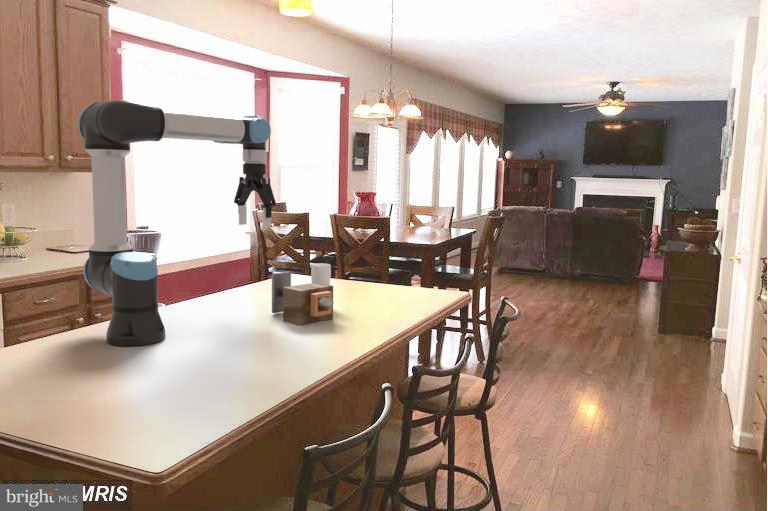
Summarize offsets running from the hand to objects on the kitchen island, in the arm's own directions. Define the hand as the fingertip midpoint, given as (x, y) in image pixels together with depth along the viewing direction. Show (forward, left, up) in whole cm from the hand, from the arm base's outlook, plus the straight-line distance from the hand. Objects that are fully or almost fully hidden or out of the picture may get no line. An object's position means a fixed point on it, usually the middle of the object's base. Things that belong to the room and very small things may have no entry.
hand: (254, 226), depth 217 cm
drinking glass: (+17, -15, -28) cm, 36 cm away
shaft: (+1, -25, -27) cm, 37 cm away
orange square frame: (+1, -33, -22) cm, 40 cm away
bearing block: (+1, -27, -28) cm, 39 cm away
